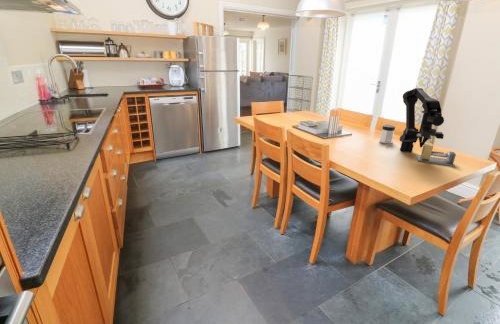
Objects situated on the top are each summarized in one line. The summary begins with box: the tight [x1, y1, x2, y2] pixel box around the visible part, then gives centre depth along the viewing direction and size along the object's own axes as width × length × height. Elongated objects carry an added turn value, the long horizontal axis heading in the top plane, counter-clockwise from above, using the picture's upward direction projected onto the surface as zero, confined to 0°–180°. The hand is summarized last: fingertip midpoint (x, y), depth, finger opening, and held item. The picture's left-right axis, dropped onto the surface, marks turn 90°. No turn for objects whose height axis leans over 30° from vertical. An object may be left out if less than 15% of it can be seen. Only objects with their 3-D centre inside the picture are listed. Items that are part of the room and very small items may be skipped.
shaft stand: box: [416, 150, 457, 167], centre depth 164 cm, size 18×10×6 cm, turn 65°
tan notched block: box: [420, 142, 434, 160], centre depth 165 cm, size 4×6×8 cm, turn 155°
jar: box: [379, 124, 396, 144], centre depth 200 cm, size 9×8×12 cm
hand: (420, 147), depth 166 cm, fingers closed
